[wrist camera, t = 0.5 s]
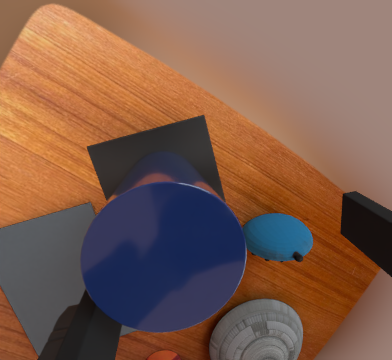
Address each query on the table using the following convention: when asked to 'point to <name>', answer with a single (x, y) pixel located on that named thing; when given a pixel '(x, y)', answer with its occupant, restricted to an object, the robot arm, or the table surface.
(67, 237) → the mat
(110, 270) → the canister
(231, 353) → the flying saucer
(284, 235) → the ornament
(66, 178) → the table surface
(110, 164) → the stand
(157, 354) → the coffee cup
